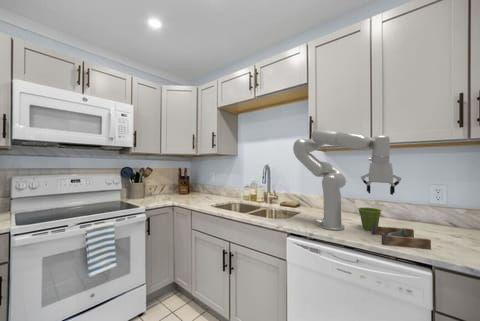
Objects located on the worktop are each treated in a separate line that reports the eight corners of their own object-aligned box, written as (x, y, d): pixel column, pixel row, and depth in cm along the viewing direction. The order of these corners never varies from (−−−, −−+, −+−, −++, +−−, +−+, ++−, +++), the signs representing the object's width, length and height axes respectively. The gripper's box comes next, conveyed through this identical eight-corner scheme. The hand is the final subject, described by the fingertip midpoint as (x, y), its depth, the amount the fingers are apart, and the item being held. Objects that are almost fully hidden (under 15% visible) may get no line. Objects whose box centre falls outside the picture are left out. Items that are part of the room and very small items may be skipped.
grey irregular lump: (384, 236, 111) (383, 224, 104) (400, 234, 108) (399, 221, 102) (393, 254, 103) (392, 242, 97) (410, 252, 101) (410, 239, 94)
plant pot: (356, 225, 129) (356, 206, 129) (379, 227, 125) (378, 208, 125) (360, 231, 118) (359, 210, 118) (385, 233, 114) (384, 212, 114)
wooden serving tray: (383, 244, 97) (382, 234, 97) (372, 233, 114) (371, 224, 114) (431, 249, 92) (430, 238, 92) (412, 236, 108) (412, 227, 108)
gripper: (361, 159, 109) (361, 193, 108) (403, 160, 101) (403, 196, 101) (360, 160, 115) (360, 191, 115) (399, 160, 108) (399, 194, 108)
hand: (380, 193), depth 108 cm, fingers open, 9 cm apart
